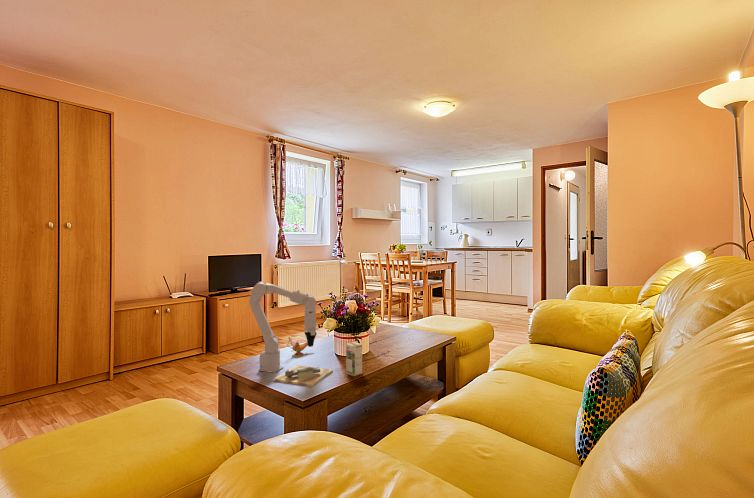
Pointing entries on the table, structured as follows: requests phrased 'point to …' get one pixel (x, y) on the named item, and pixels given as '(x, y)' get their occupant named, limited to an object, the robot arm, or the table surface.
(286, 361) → the table surface
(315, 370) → the steel link
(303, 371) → the keeper
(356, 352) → the syrup box
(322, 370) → the pintle board
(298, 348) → the magic lamp
